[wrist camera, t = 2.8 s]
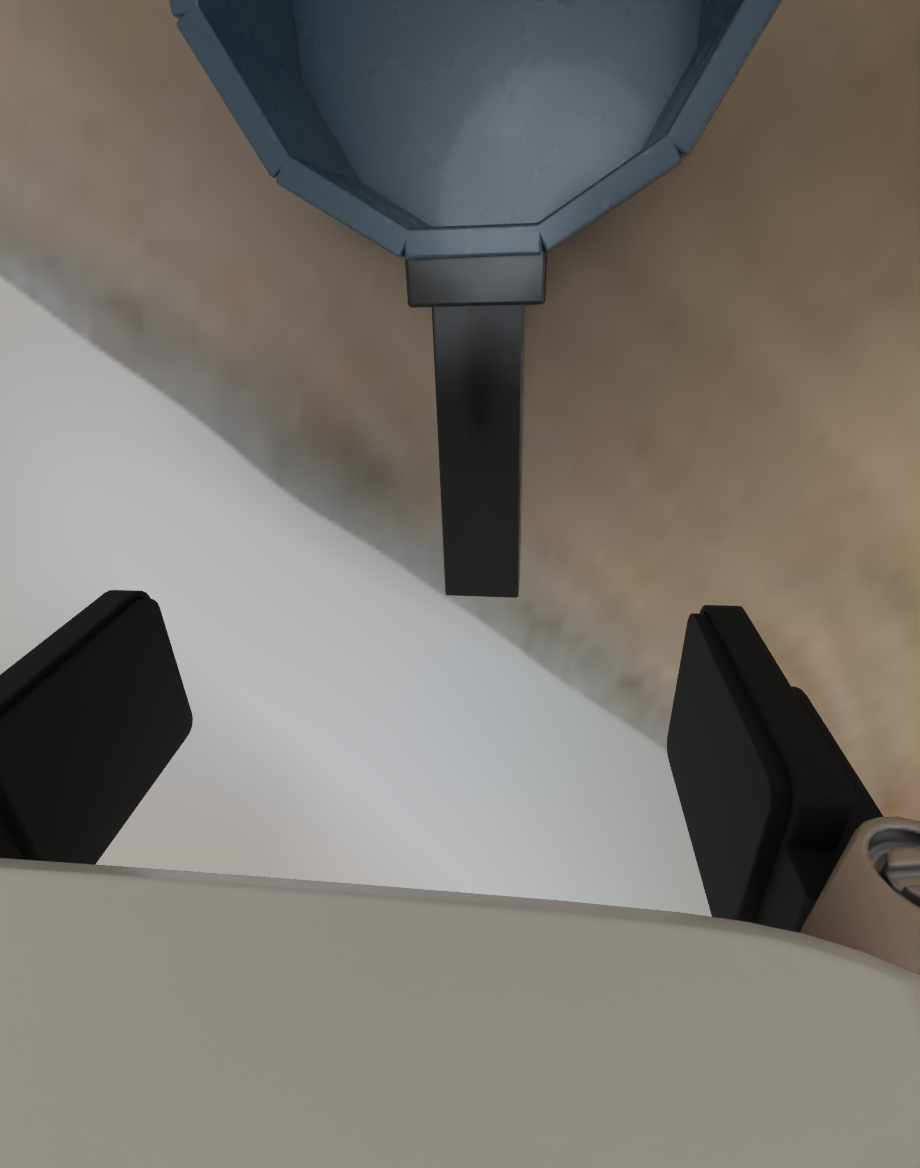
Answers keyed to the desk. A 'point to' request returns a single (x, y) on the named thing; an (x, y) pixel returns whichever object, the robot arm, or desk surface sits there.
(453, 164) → the saucepan
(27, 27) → the desk surface
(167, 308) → the desk surface
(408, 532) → the desk surface
